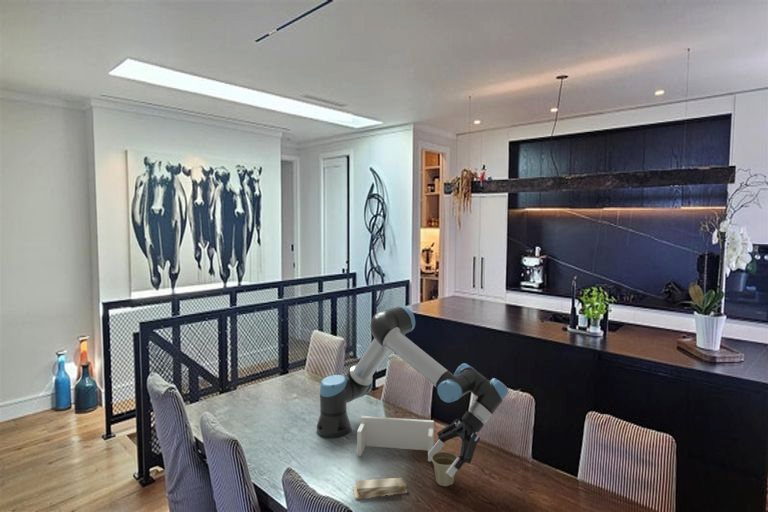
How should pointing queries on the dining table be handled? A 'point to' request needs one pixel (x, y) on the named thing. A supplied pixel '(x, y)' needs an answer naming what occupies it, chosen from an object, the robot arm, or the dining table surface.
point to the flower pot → (443, 467)
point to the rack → (395, 433)
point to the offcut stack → (379, 487)
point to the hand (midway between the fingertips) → (439, 465)
